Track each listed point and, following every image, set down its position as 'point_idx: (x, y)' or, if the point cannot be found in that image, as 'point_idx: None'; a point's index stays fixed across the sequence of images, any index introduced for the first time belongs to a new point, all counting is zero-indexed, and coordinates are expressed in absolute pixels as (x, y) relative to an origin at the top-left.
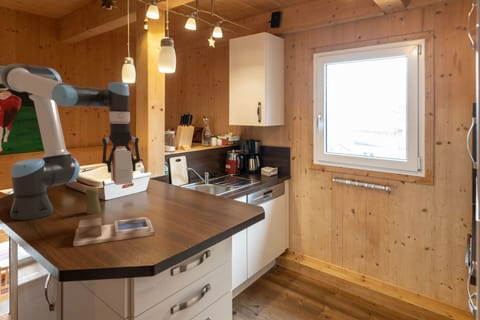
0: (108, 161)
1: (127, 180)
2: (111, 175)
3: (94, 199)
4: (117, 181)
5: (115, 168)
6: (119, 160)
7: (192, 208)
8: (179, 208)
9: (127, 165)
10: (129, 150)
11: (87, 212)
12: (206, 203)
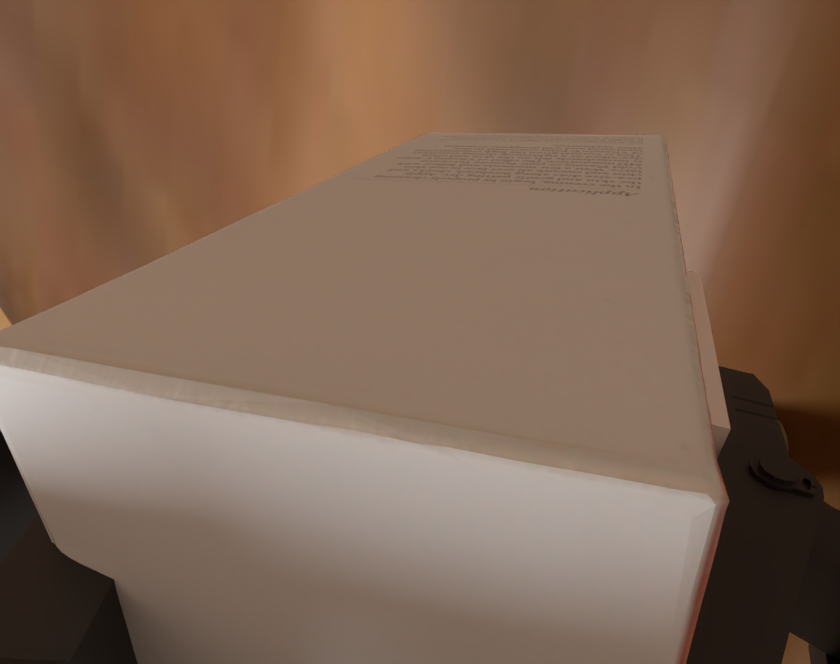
0: (803, 518)
1: (478, 136)
2: (701, 312)
3: None
4: (640, 143)
5: (674, 203)
6: (531, 264)
7: (121, 149)
8: (195, 195)
9: (370, 200)
10: (42, 562)
11: (786, 437)
12: (44, 205)
